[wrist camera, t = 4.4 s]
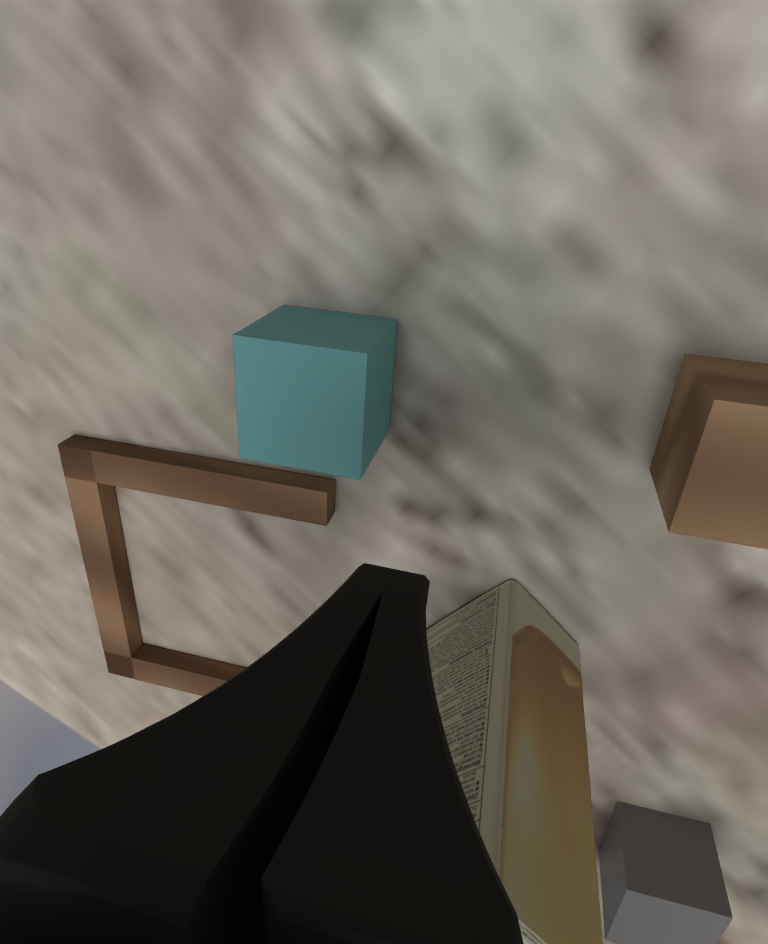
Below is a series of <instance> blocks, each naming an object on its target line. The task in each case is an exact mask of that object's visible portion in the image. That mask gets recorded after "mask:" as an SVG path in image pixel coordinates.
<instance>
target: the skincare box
mask: <svg viewBox="0 0 768 944" xmlns="http://www.w3.org/2000/svg"><path fill="white" fill-rule="evenodd" d="M426 634H427V644H428V652H429V661H430V667H431V673H432V679H433V684H434V689H435V694H436V699H437V704H438V708H439V712H440V716H441V721H442V724H443V728H444V732H445V735H446V739H447V743H448V746H449V749H450V752H451V756H452V759H453V762H454V765H455V768H456V771H457V774H458V777H459V780H460V782H461V785H462V788H463V791H464V793H465V796H466V799H467V801H468V804H469V807H470V810H471V812H472V815H473V818H474V820H475V823H476V825H477V828H478V830H479V832H480V835H481V837H482V839H483V842H484V844H485V847H486V849H487V851H488V854H489V856H490V858H491V860H492V862H493V865H494V867H495V869H496V871H497V873H498V875H499V878H500V880H501V882H502V884H503V886H504V888H505V890H506V892H507V894H508V896H509V898H510V900H511V903H512V905H513V907H514V909H515V911H516V913H517V916H518V921H519V926H520V930H521V934H522V939H523V943H524V944H603V941H602V928H601V916H600V903H599V891H598V879H597V867H596V853H595V841H594V831H593V817H592V806H591V791H590V778H589V766H588V753H587V742H586V730H585V718H584V707H583V693H582V679H581V665H580V654H579V647H578V645H577V644H576V643H575V642H574V641H573V639H572V638H571V637H570V636H569V635H568V634H567V633H566V632H565V631H564V630H563V629H562V627H561V626H560V625H559V624H558V623H557V622H556V621H555V620H554V619H553V618H552V617H551V616H550V615H549V614H548V613H547V612H546V611H545V609H544V608H543V607H542V606H541V605H540V604H539V603H538V602H537V601H536V600H535V599H534V598H533V597H532V596H531V595H530V594H529V593H528V592H527V591H526V590H525V589H524V588H523V587H522V586H521V585H520V584H519V583H518V582H516V581H514V580H509V581H506V582H504V583H503V584H501V585H499V586H498V587H496V588H494V589H492V590H491V591H489V592H487V593H486V594H484V595H482V596H480V597H479V598H477V599H475V600H474V601H472V602H471V603H469V604H467V605H466V606H464V607H462V608H461V609H459V610H458V611H456V612H454V613H453V614H451V615H450V616H448V617H446V618H445V619H443V620H442V621H440V622H439V623H437V624H436V625H434V626H432V627H431V628H429V629H428V630H426Z"/></svg>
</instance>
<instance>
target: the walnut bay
mask: <svg viewBox="0 0 768 944" xmlns="http://www.w3.org/2000/svg"><path fill="white" fill-rule="evenodd" d="M58 448H59V453H60V457H61V462H62V466H63V471H64V475H65V480H66V484H67V488H68V493H69V497H70V502H71V506H72V511H73V515H74V520H75V524H76V529H77V533H78V538H79V542H80V546H81V551H82V555H83V560H84V564H85V569H86V573H87V578H88V582H89V587H90V591H91V595H92V600H93V604H94V609H95V613H96V618H97V622H98V627H99V631H100V636H101V640H102V645H103V649H104V653H105V658H106V662H107V667H108V671H109V673H112V674H116V675H120V676H124V677H128V678H132V679H136V680H140V681H144V682H148V683H153V684H157V685H161V686H165V687H169V688H173V689H177V690H181V691H185V692H189V693H193V694H197V695H201V696H205V695H206V694H208V693H209V692H211V691H213V690H214V689H216V688H218V687H219V686H221V685H222V684H224V683H225V682H227V681H228V680H230V679H231V678H233V677H234V676H236V675H237V674H239V673H240V672H241V671H243V670H244V669H246V668H244V667H240V666H235V665H231V664H227V663H223V662H218V661H214V660H210V659H206V658H202V657H197V656H193V655H189V654H185V653H181V652H176V651H172V650H168V649H164V648H159V647H155V646H151V645H147V644H143V643H142V638H141V632H140V627H139V621H138V615H137V610H136V604H135V599H134V593H133V588H132V582H131V577H130V571H129V566H128V560H127V555H126V549H125V544H124V538H123V533H122V527H121V521H120V516H119V510H118V505H117V499H116V494H115V488H114V486H117V487H122V488H128V489H133V490H138V491H144V492H149V493H154V494H159V495H165V496H170V497H175V498H181V499H186V500H191V501H197V502H202V503H207V504H213V505H218V506H223V507H229V508H234V509H239V510H245V511H250V512H255V513H261V514H266V515H271V516H277V517H282V518H287V519H293V520H298V521H303V522H309V523H314V524H319V525H324V526H327V524H328V523H329V521H330V519H331V517H332V516H333V514H334V509H335V480H332V479H327V478H321V477H315V476H309V475H304V474H298V473H292V472H286V471H281V470H275V469H269V468H263V467H257V466H252V465H246V464H240V463H234V462H229V461H223V460H217V459H211V458H206V457H200V456H194V455H188V454H183V453H177V452H171V451H165V450H159V449H154V448H148V447H142V446H136V445H131V444H125V443H119V442H113V441H108V440H102V439H96V438H90V437H84V436H79V435H73V436H71V437H70V438H68V439H66V440H65V441H63V442H61V443H60V444H58Z"/></svg>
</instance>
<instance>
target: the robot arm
mask: <svg viewBox="0 0 768 944" xmlns="http://www.w3.org/2000/svg"><path fill="white" fill-rule="evenodd" d="M429 582H430V581H429V580H428V579H427V578H426V576H425V575H420V574H415V573H410V572H405V571H401V570H396V569H391V568H386V567H381V566H376V565H371V564H366V563H364V564H362V565H361V566H359V567H358V568H357V569H356V570H355V572H354V573H353V574H352V575H351V576H350V577H349V578H348V579H347V580H346V581H345V583H344V584H343V585H342V586H341V587H340V588H339V589H338V590H337V591H336V592H335V593H334V594H333V595H332V596H331V597H330V598H329V599H328V600H327V601H326V602H325V603H324V604H323V605H322V606H320V607H319V608H318V609H317V610H316V611H315V612H314V613H313V614H312V615H311V616H310V617H309V618H308V619H306V620H305V621H304V622H303V623H302V624H301V625H300V626H299V627H298V628H296V629H295V630H294V631H293V632H292V633H290V634H289V635H288V636H287V637H286V638H284V639H283V640H282V641H281V642H279V643H278V644H277V645H276V646H275V647H273V648H272V649H271V650H270V651H268V652H267V653H266V654H265V655H263V656H262V657H261V658H259V659H258V660H257V661H255V662H254V663H253V664H251V665H250V666H249V667H247V668H246V669H244V670H243V671H241V672H240V673H239V674H237V675H236V676H234V677H233V678H231V679H230V680H228V681H227V682H225V683H224V684H222V685H221V686H219V687H218V688H216V689H214V690H213V691H211V692H209V693H208V694H206V695H205V696H203V697H201V698H200V699H198V700H197V701H195V702H193V703H192V704H190V705H188V706H186V707H185V708H183V709H181V710H179V711H178V712H176V713H174V714H172V715H170V716H169V717H167V718H165V719H163V720H161V721H159V722H157V723H155V724H153V725H151V726H149V727H147V728H145V729H143V730H141V731H139V732H137V733H135V734H133V735H131V736H129V737H127V738H125V739H123V740H121V741H119V742H117V743H115V744H113V745H110V746H108V747H106V748H104V749H101V750H99V751H96V752H94V753H92V754H89V755H87V756H84V757H82V758H79V759H77V760H75V761H72V762H70V763H67V764H65V765H62V766H60V767H57V768H55V769H53V770H50V771H47V772H45V773H42V774H39V775H38V776H37V777H36V778H35V779H34V780H33V781H32V782H31V783H30V784H29V785H28V787H26V788H25V789H24V791H23V792H22V793H21V794H20V795H19V796H18V797H17V798H16V799H15V800H14V801H13V802H12V803H11V804H10V806H9V807H8V808H7V809H6V810H5V811H4V813H3V814H2V815H1V816H0V944H524V943H523V939H522V934H521V930H520V926H519V921H518V916H517V913H516V911H515V909H514V907H513V905H512V903H511V900H510V898H509V896H508V894H507V892H506V890H505V888H504V886H503V884H502V882H501V880H500V878H499V875H498V873H497V871H496V869H495V867H494V865H493V862H492V860H491V858H490V856H489V854H488V851H487V849H486V847H485V844H484V842H483V839H482V837H481V835H480V832H479V830H478V828H477V825H476V823H475V820H474V818H473V815H472V812H471V810H470V807H469V804H468V801H467V799H466V796H465V793H464V791H463V788H462V785H461V782H460V780H459V777H458V774H457V771H456V768H455V765H454V762H453V759H452V756H451V752H450V749H449V746H448V743H447V739H446V735H445V732H444V728H443V724H442V721H441V716H440V712H439V708H438V704H437V699H436V694H435V689H434V684H433V679H432V673H431V667H430V661H429V652H428V644H427V634H426V605H427V597H428V590H429Z"/></svg>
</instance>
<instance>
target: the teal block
mask: <svg viewBox="0 0 768 944" xmlns="http://www.w3.org/2000/svg"><path fill="white" fill-rule="evenodd" d="M397 321H398V319H391V318H383V317H375V316H367V315H359V314H352V313H344V312H336V311H328V310H320V309H313V308H305V307H297V306H289V305H283V306H281V307H279V308H278V309H276V310H274V311H273V312H271V313H269V314H267V315H266V316H264V317H262V318H261V319H259V320H257V321H256V322H254V323H252V324H251V325H249V326H247V327H245V328H244V329H242V330H240V331H239V332H237V333H235V334H234V335H233V347H234V365H235V383H236V401H237V419H238V437H239V455H240V458H242V459H247V460H253V461H259V462H264V463H270V464H276V465H281V466H287V467H293V468H298V469H304V470H310V471H315V472H321V473H326V474H332V475H338V476H343V477H349V478H355V479H360V480H361V478H362V476H363V474H364V473H365V471H366V469H367V467H368V466H369V464H370V462H371V460H372V459H373V457H374V455H375V453H376V451H377V450H378V448H379V446H380V444H381V443H382V441H383V439H384V437H385V436H386V434H387V432H388V430H389V427H390V413H391V400H392V387H393V374H394V361H395V347H396V334H397Z"/></svg>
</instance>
